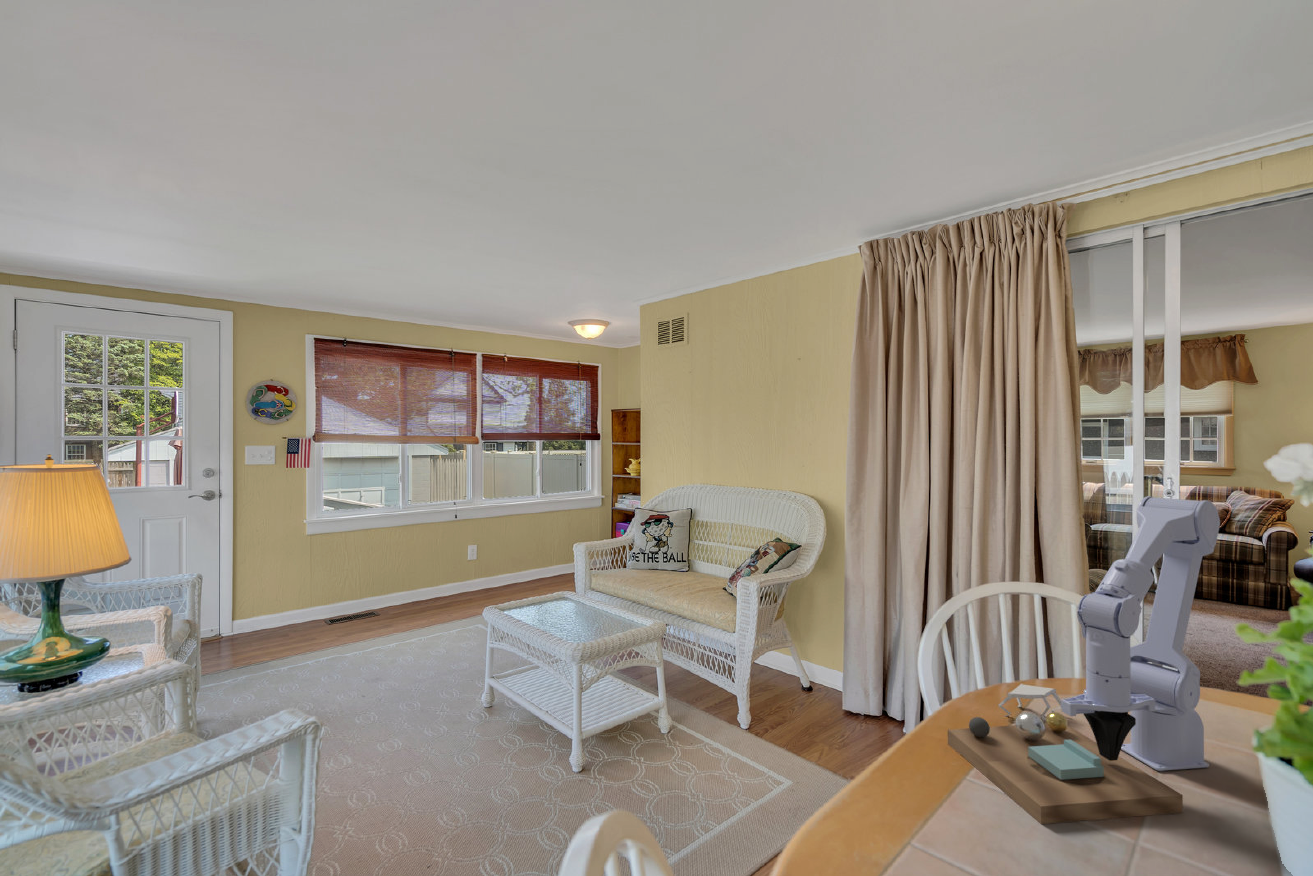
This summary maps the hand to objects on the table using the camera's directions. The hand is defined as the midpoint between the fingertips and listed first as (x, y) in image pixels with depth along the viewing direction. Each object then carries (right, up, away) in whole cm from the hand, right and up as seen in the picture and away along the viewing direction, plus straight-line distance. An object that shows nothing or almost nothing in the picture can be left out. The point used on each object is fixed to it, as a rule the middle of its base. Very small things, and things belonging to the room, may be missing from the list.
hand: (1108, 757), depth 98 cm
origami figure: (+1, -4, +23) cm, 24 cm away
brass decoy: (-1, 0, +11) cm, 11 cm away
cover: (-7, -1, -1) cm, 7 cm away
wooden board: (-8, -4, +2) cm, 9 cm away
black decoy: (-16, 0, +9) cm, 18 cm away
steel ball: (-7, +1, +8) cm, 11 cm away
